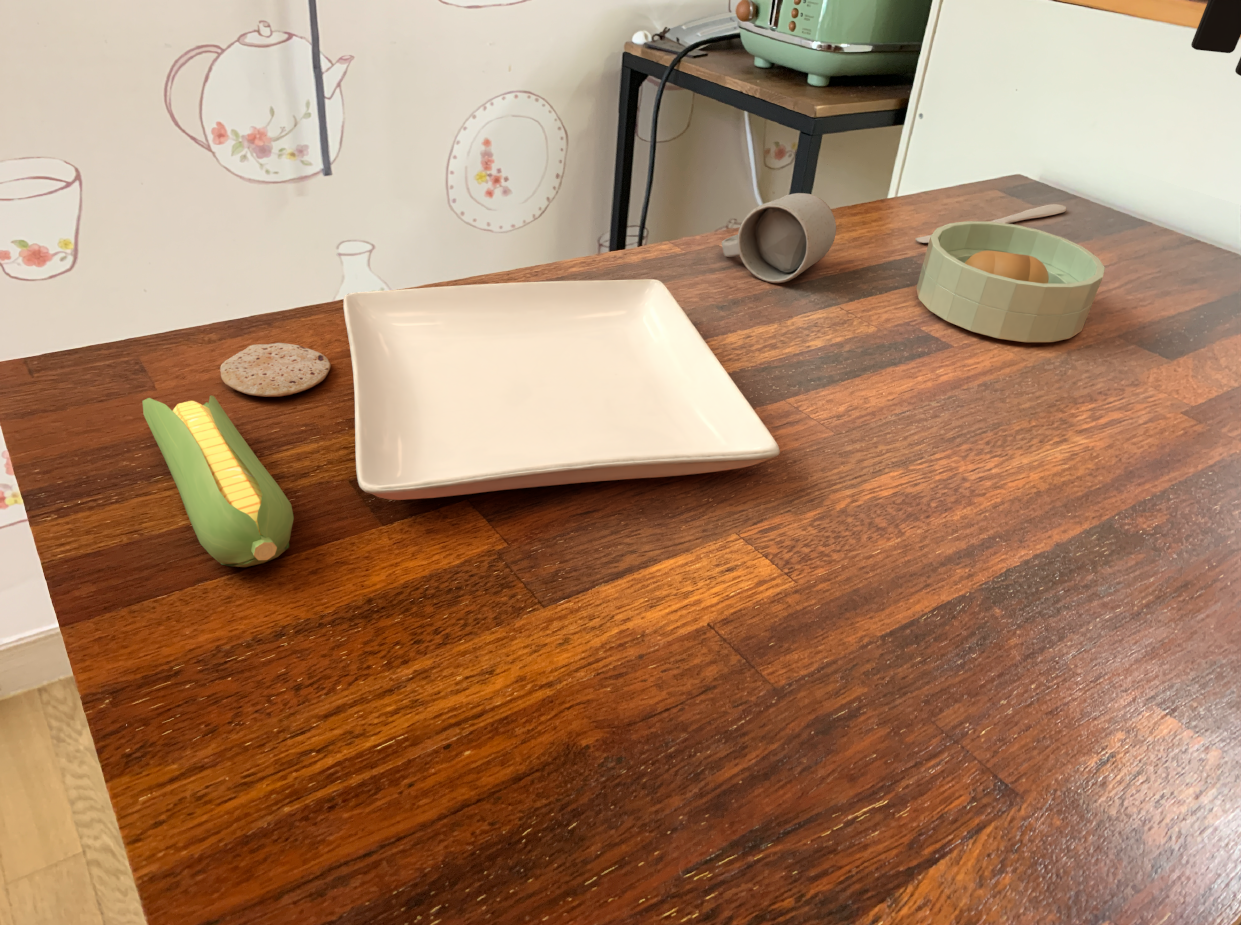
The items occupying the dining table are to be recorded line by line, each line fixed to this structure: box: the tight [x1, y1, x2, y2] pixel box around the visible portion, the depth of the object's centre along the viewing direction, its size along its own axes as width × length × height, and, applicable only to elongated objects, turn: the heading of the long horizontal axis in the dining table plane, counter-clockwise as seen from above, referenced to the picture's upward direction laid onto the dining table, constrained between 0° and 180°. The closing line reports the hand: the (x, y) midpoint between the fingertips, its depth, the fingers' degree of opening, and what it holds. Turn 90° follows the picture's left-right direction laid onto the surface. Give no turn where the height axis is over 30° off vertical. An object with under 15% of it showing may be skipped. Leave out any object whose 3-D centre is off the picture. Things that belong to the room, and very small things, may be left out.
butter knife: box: [914, 203, 1068, 244], centre depth 109 cm, size 1×27×3 cm
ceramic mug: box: [721, 192, 837, 284], centre depth 92 cm, size 11×8×8 cm
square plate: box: [342, 278, 781, 501], centre depth 69 cm, size 27×27×4 cm
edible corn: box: [141, 395, 295, 568], centre depth 57 cm, size 5×20×5 cm, turn 35°
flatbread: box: [219, 342, 332, 398], centre depth 70 cm, size 8×8×1 cm
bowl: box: [915, 220, 1106, 343], centre depth 88 cm, size 15×15×6 cm
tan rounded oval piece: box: [965, 251, 1049, 284], centre depth 89 cm, size 8×5×5 cm, turn 80°
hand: (1233, 63), depth 72 cm, fingers open, 9 cm apart
